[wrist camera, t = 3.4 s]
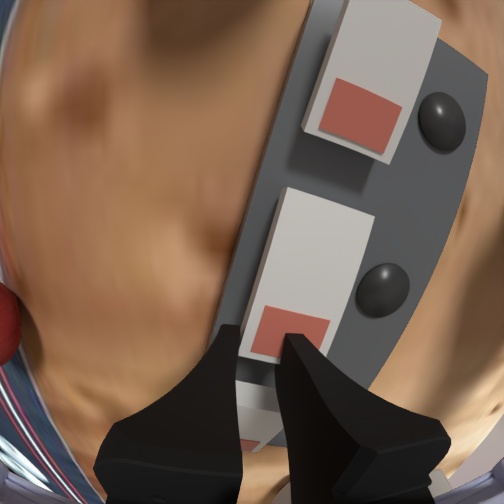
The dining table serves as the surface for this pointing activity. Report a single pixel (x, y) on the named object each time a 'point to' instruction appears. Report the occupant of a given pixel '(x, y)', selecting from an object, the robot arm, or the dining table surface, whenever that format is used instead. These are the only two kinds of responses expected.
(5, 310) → the onion
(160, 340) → the dining table surface
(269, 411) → the rocker
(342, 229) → the rocker middle
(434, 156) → the power strip
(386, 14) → the rocker
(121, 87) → the dining table surface
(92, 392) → the dining table surface
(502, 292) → the dining table surface
